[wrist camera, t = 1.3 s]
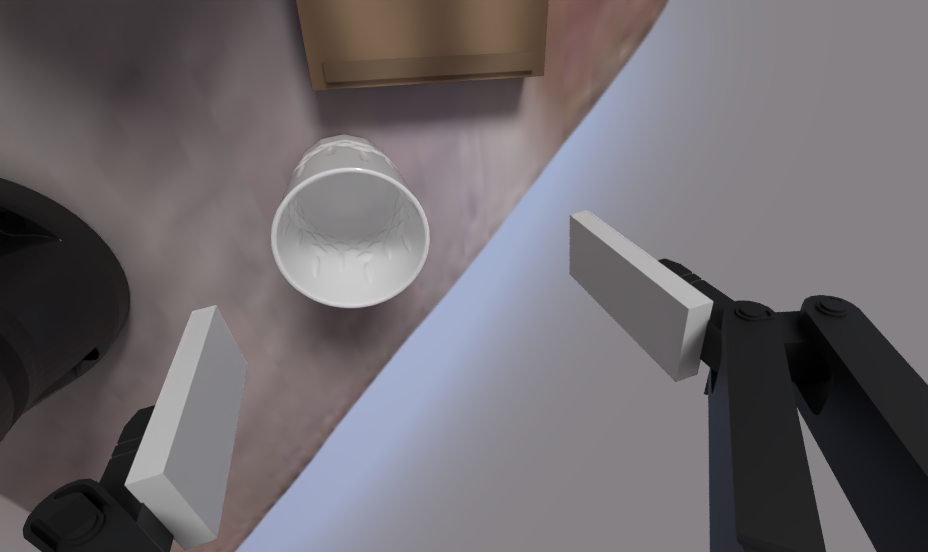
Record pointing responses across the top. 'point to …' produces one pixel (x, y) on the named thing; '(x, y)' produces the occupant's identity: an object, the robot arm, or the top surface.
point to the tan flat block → (421, 41)
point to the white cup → (349, 226)
